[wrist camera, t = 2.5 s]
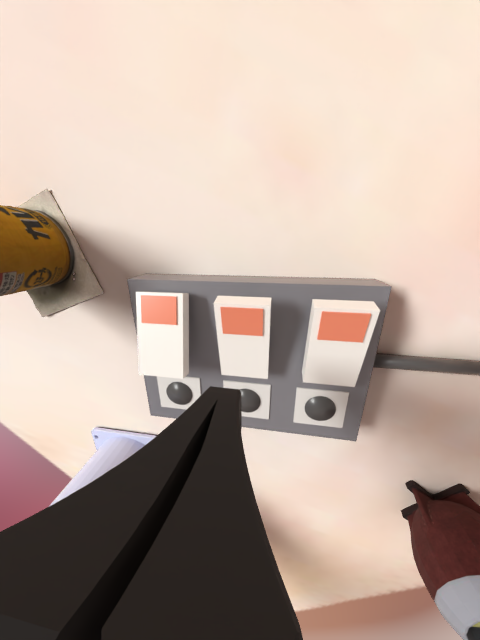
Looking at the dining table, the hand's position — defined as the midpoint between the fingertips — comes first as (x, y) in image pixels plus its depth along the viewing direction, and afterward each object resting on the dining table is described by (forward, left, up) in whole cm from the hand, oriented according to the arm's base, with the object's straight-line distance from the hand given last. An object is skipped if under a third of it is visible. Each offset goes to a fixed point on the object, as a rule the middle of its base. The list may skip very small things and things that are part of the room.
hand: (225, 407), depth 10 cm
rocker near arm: (+1, +6, -6) cm, 8 cm away
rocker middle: (+1, 0, -6) cm, 6 cm away
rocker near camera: (+1, -5, -6) cm, 8 cm away
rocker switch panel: (-2, -4, -9) cm, 11 cm away
